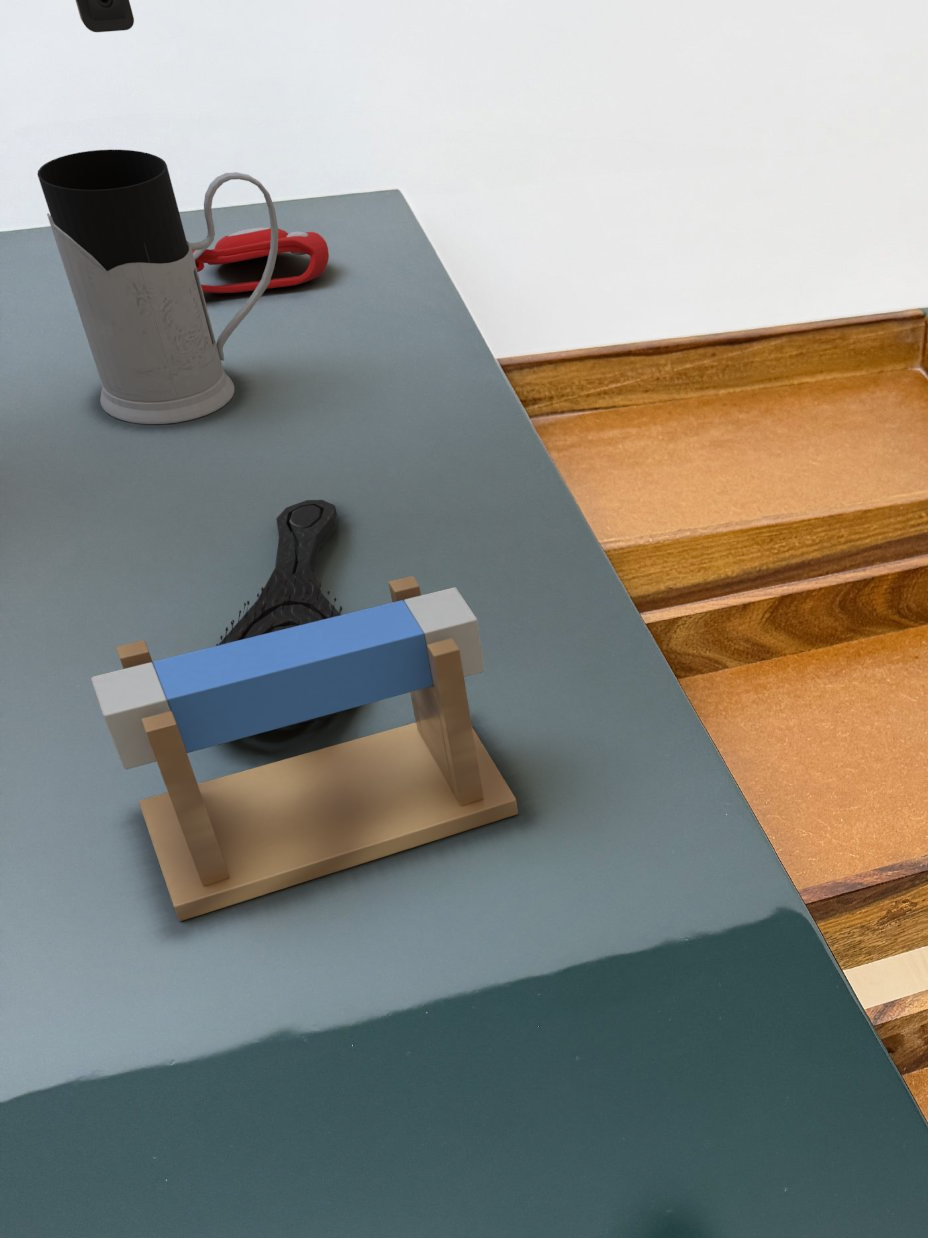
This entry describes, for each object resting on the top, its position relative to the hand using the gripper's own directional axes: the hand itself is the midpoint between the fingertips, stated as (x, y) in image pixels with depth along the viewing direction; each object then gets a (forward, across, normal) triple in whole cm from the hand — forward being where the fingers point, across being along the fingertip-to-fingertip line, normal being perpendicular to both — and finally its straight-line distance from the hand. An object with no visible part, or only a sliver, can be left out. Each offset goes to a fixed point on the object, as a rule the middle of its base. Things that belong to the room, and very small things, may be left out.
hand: (93, 5), depth 68 cm
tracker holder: (+28, -36, +9) cm, 47 cm away
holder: (+28, +30, -2) cm, 41 cm away
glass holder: (+28, -18, +2) cm, 34 cm away
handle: (+21, +30, -2) cm, 37 cm away
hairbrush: (+28, +13, 0) cm, 31 cm away
